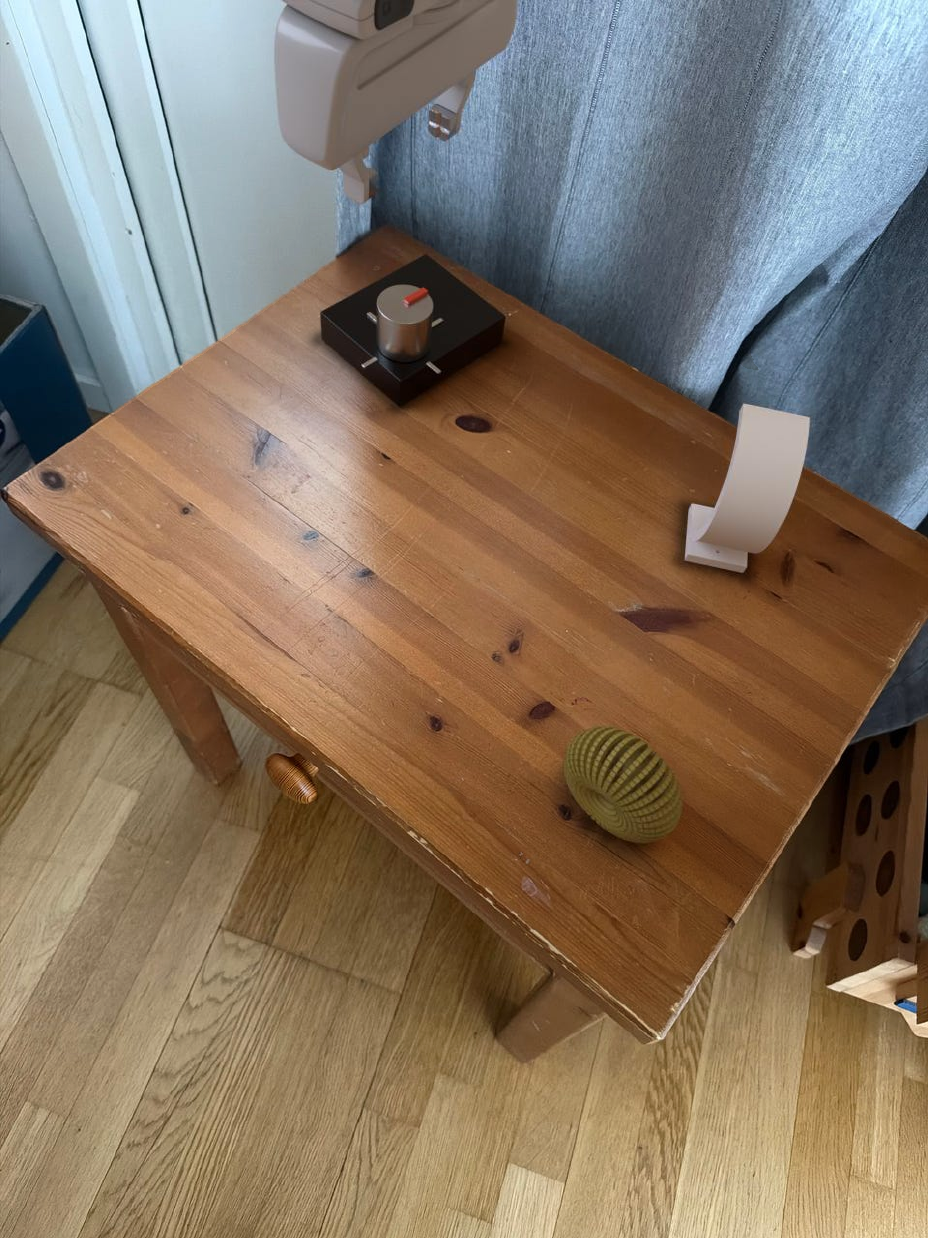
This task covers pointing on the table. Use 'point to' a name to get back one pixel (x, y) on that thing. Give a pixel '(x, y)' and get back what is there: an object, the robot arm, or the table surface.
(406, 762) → the table surface
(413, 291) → the dial
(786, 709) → the table surface
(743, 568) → the headphone stand
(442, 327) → the panel
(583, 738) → the sculpture
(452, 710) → the table surface
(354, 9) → the robot arm
